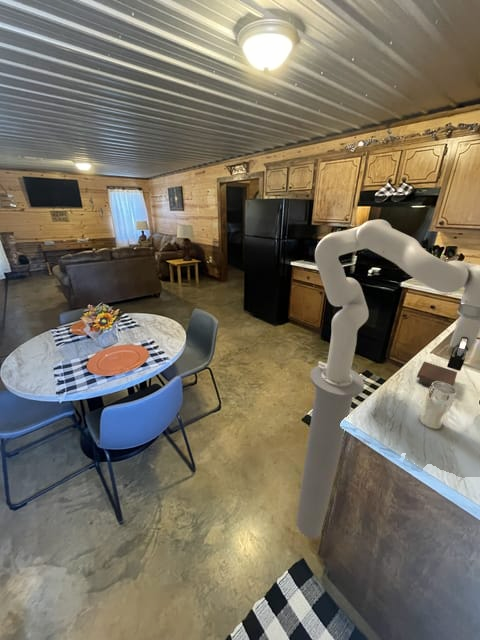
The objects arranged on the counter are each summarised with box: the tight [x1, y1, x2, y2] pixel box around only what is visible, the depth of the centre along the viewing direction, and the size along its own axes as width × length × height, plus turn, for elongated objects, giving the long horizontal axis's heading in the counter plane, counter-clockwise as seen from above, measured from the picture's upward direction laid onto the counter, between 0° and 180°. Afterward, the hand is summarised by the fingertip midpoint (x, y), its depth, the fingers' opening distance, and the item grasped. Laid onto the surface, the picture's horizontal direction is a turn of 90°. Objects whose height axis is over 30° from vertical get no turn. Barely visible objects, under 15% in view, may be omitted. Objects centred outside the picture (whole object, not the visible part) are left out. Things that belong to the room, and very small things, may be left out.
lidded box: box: [416, 361, 458, 388], centre depth 110 cm, size 12×13×4 cm
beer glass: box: [419, 381, 458, 430], centre depth 88 cm, size 7×7×15 cm
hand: (455, 361), depth 80 cm, fingers open, 9 cm apart
